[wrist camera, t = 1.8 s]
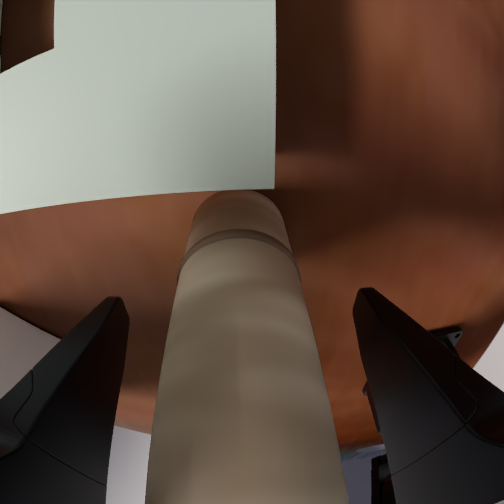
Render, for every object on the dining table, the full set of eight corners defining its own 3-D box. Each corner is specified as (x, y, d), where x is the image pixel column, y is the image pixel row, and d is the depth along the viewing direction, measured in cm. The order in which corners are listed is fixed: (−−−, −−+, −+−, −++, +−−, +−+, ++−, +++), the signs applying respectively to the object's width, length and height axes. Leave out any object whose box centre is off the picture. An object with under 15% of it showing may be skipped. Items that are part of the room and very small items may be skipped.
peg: (287, 186, 11) (387, 505, 2) (282, 267, 13) (328, 521, 4) (185, 189, 10) (103, 512, 2) (196, 270, 13) (171, 526, 4)
